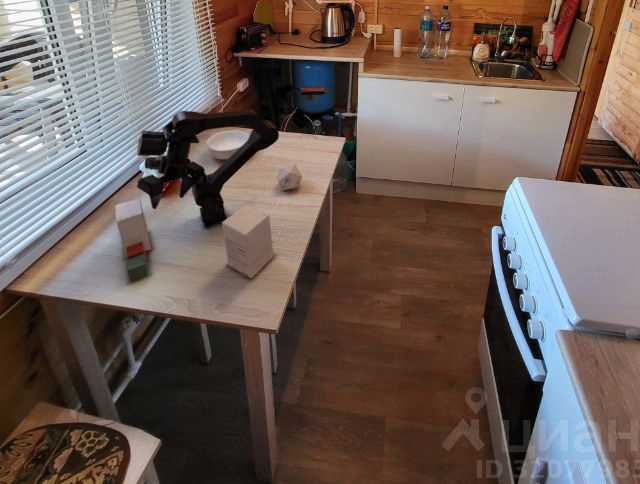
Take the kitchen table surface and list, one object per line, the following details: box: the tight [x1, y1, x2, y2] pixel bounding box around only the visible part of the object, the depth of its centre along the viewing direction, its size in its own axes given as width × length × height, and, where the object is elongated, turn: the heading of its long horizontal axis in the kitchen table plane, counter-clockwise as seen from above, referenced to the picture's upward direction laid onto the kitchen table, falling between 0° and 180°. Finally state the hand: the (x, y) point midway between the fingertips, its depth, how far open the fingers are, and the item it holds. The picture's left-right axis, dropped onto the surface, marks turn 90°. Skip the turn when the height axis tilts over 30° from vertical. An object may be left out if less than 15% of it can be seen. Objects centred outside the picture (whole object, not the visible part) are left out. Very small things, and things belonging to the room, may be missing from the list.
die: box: [276, 163, 303, 191], centre depth 136 cm, size 8×9×10 cm
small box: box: [115, 198, 152, 259], centre depth 109 cm, size 8×6×13 cm
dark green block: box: [126, 254, 149, 283], centre depth 101 cm, size 4×4×4 cm
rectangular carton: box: [221, 203, 275, 279], centre depth 103 cm, size 9×9×15 cm
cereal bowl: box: [206, 129, 250, 160], centre depth 156 cm, size 17×17×7 cm
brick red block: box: [126, 242, 147, 262], centre depth 105 cm, size 4×4×4 cm
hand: (168, 202), depth 112 cm, fingers open, 9 cm apart
